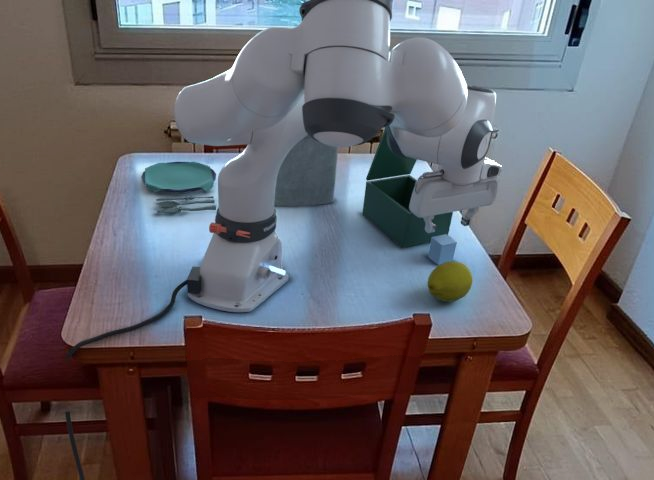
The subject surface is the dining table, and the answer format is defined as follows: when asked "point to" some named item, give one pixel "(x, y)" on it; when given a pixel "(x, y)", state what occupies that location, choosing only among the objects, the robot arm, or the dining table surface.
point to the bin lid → (388, 162)
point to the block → (442, 249)
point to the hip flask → (307, 175)
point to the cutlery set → (179, 183)
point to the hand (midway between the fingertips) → (447, 228)
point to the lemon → (450, 281)
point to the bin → (400, 212)
